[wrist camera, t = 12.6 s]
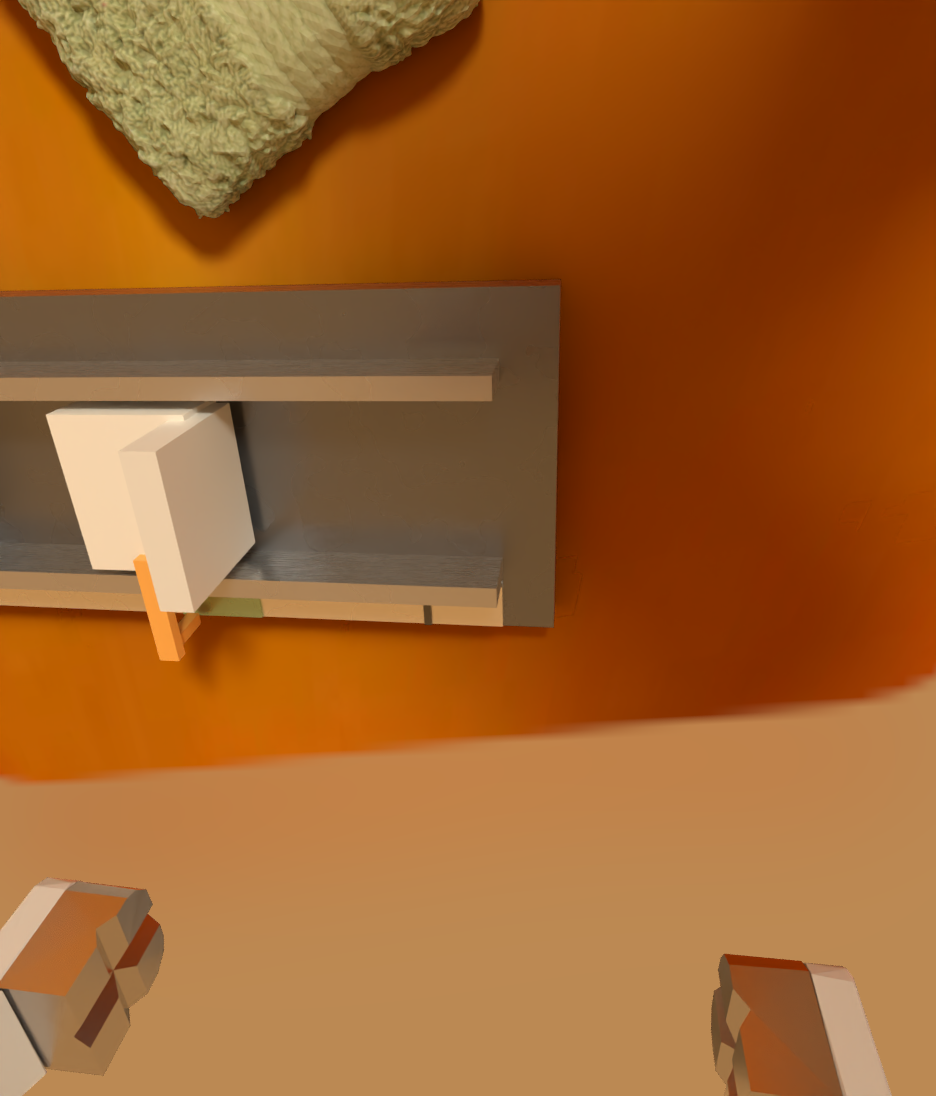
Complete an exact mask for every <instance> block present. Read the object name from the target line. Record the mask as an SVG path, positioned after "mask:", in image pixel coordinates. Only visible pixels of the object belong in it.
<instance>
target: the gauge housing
mask: <svg viewBox="0 0 936 1096" xmlns="http://www.w3.org/2000/svg"><path fill="white" fill-rule="evenodd" d="M560 313H561V279H549V280H502V281H456V282H410V283H363V284H317V285H271V286H224V287H178V288H132V289H85V290H39V291H0V605H8V606H31V607H54V608H78V609H101V610H125V611H146V607H145V603H144V600H143V596H142V592H141V589H140V585H139V582H138V578H137V574H136V571H130V570H101V569H93V568H92V565H91V562H90V558H89V555H88V552H87V549H86V545H85V542H84V539H83V536H82V532H81V529H80V526H79V522H78V519H77V516H76V513H75V509H74V506H73V503H72V500H71V496H70V493H69V490H68V486H67V483H66V480H65V477H64V473H63V470H62V467H61V464H60V460H59V457H58V454H57V450H56V447H55V444H54V441H53V437H52V434H51V431H50V427H49V424H48V421H47V418H46V414H48V413H51V412H53V411H55V410H57V409H59V408H62V407H64V406H66V405H68V404H70V403H72V402H75V401H216V403H229V405H230V410H231V415H232V421H233V426H234V431H235V437H236V442H237V447H238V453H239V458H240V463H241V469H242V474H243V479H244V485H245V490H246V495H247V500H248V506H249V511H250V516H251V522H252V527H253V532H254V538H255V544H254V545H253V546H252V547H251V548H250V549H249V550H248V552H247V553H246V554H245V555H244V556H243V557H242V558H241V560H240V561H239V562H238V563H237V564H236V565H235V566H234V568H233V569H232V570H231V571H230V572H229V573H228V575H227V576H226V577H225V578H224V579H223V580H222V581H221V583H220V584H219V585H218V586H217V587H216V588H215V589H214V591H213V592H212V593H211V594H210V595H209V596H208V598H207V599H206V600H205V601H204V602H203V603H202V604H201V606H200V607H199V608H198V609H197V610H196V611H195V612H194V613H199V615H211V616H234V617H257V618H263V616H265V617H288V618H312V619H335V620H359V621H382V622H405V623H424V624H425V625H432V624H452V625H475V626H499V627H503V625H506V626H529V627H553V628H554V614H555V573H556V521H557V469H558V417H559V365H560ZM175 613H183V614H187V612H175Z"/></svg>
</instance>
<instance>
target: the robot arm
mask: <svg viewBox="0 0 936 1096" xmlns="http://www.w3.org/2000/svg"><path fill="white" fill-rule="evenodd" d="M152 905H153V904H152V901H151V899H150V897H149V894H148V892H147V890H146V889H138V888H130V887H121V886H112V885H105V884H97V883H88V882H82V881H76V880H67V879H58V878H46V879H44V880H43V881H41V882H40V883H39V884H37V885H36V886H34V887H33V889H32V890H31V891H30V892H29V894H28V895H27V897H26V898H25V899H24V900H23V902H22V903H21V904H20V905H19V907H18V908H17V909H16V911H15V912H14V913H13V914H12V916H11V917H10V918H9V920H8V921H7V922H6V924H5V925H4V926H3V927H2V929H1V930H0V1096H22V1095H23V1094H24V1093H26V1092H27V1091H28V1090H29V1089H30V1088H31V1087H32V1086H33V1085H34V1084H35V1083H36V1082H37V1081H39V1080H40V1079H41V1078H42V1077H43V1076H44V1075H45V1074H46V1073H47V1071H46V1069H52V1070H61V1071H69V1072H78V1073H86V1074H94V1075H102V1076H103V1075H104V1074H105V1072H106V1070H107V1068H108V1066H109V1064H110V1063H111V1061H112V1059H113V1057H114V1055H115V1053H116V1051H117V1049H118V1047H119V1046H120V1044H121V1042H122V1040H123V1038H124V1037H125V1035H126V1033H127V1031H128V1029H129V1027H130V1015H129V1008H130V1007H131V1006H132V1005H133V1004H135V1003H136V1002H137V1001H139V1000H140V999H141V998H142V997H143V996H145V995H146V994H147V993H148V991H149V990H150V987H151V986H152V984H153V981H154V980H155V978H156V976H157V974H158V971H159V967H160V963H161V960H162V956H163V952H164V935H163V932H162V929H161V926H160V924H159V923H158V922H157V921H155V920H154V919H153V918H152V917H151V916H150V915H148V912H149V910H150V908H151V906H152ZM718 972H719V978H720V986H721V987H720V988H718V989H717V990H715V991H714V995H713V1002H712V1013H711V1033H712V1046H713V1055H714V1062H715V1070H716V1072H717V1073H718V1075H719V1076H720V1077H721V1079H722V1080H723V1081H724V1083H725V1084H726V1088H725V1093H724V1096H892V1095H891V1092H890V1089H889V1086H888V1083H887V1080H886V1077H885V1074H884V1070H883V1067H882V1064H881V1061H880V1058H879V1055H878V1052H877V1049H876V1046H875V1043H874V1040H873V1037H872V1033H871V1030H870V1027H869V1024H868V1021H867V1018H866V1015H865V1012H864V1009H863V1006H862V1003H861V1000H860V997H859V993H858V990H857V987H856V984H855V981H854V978H853V977H852V975H851V974H850V972H849V971H848V970H847V969H846V968H844V967H843V966H833V965H823V964H813V963H802V961H794V960H784V959H773V958H762V957H752V956H741V955H730V954H724V955H723V956H722V957H721V959H720V964H719V968H718Z"/></svg>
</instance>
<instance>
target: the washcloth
mask: <svg viewBox="0 0 936 1096" xmlns="http://www.w3.org/2000/svg"><path fill="white" fill-rule="evenodd" d="M479 1H480V0H18V2H19V3H20V5H21V6H22V7H23V8H24V9H25V10H27V11H29V14H30V17H31V18H32V19H33V20H34V21H36V22H37V24H36V25H37V27H38V28H39V29H44V30H45V31H46V32H48V33H49V34H50V36H51V40H52V42H53V43H54V44H55V45H56V46H57V49H58V52H59V56H60V58H61V61H62V63H64V64H66V67H67V69H68V71H69V73H70V74H71V76H72V78H73V79H74V80H75V81H76V82H78V83H79V84H80V85H81V86H83V87H84V88H87V89H88V92H87V93H86V98H87V99H89V101H90V102H91V103H92V104H93V105H94V106H95V107H96V108H97V109H98V110H100V111H103V112H104V113H105V114H106V115H107V116H108V117H109V118H110V119H111V120H112V121H113V126H114V127H115V129H116V130H118V131H120V132H122V133H123V134H124V135H125V137H126V139H127V140H128V142H129V143H130V144H131V146H132V147H133V148H134V150H135V151H137V152H138V158H139V159H140V160H141V161H142V162H143V163H145V164H147V165H149V166H150V167H151V168H152V171H153V175H154V176H158V178H159V179H161V180H162V182H163V184H164V185H165V186H167V187H168V188H169V190H170V191H171V192H172V194H173V195H174V196H175V197H176V198H177V199H178V201H179V202H180V203H181V204H184V205H185V206H191V207H192V208H194V209H195V211H196V213H197V215H198V216H199V219H201V218H202V217H203V216H204V215H205V216H207V217H211V218H217V217H220V215H222V214H223V213H224V211H225V212H229V211H230V210H229V204H231V203H234V202H236V201H238V200H239V199H240V194H242V193H244V192H246V191H247V190H248V189H249V188H251V186H252V184H253V180H254V179H259V178H262V177H264V176H265V173H266V170H271V169H272V168H273V167H275V166H276V161H277V160H278V159H280V158H281V157H282V156H283V155H284V154H286V153H287V152H291V151H293V150H295V149H297V148H299V147H301V146H302V141H304V140H305V139H307V138H308V139H312V129H313V126H314V122H315V121H316V119H317V118H318V117H319V116H320V115H321V114H322V113H323V112H325V111H327V110H328V109H329V108H331V107H332V106H333V105H335V104H336V103H337V102H338V101H339V99H341V98H342V97H344V96H345V95H346V94H347V93H349V92H350V91H351V90H352V89H353V88H354V86H355V85H356V83H357V82H359V81H360V80H362V79H363V78H365V77H366V76H367V75H368V74H369V73H370V72H372V71H377V72H380V71H382V70H384V69H386V68H388V67H389V66H391V65H396V64H398V63H399V61H403V60H404V59H405V57H408V56H410V55H411V48H412V47H415V48H417V47H422V46H424V45H426V44H427V43H428V42H429V40H430V38H431V37H434V36H439V35H442V34H444V33H445V32H446V31H448V30H451V29H453V28H454V27H455V26H456V25H457V24H458V23H459V22H460V21H461V20H462V19H465V18H468V17H469V16H470V15H471V13H472V11H473V9H474V8H475V7H477V6H478V2H479Z"/></svg>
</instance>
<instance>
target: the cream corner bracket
mask: <svg viewBox="0 0 936 1096" xmlns="http://www.w3.org/2000/svg"><path fill="white" fill-rule="evenodd" d="M46 418H47V421H48V424H49V427H50V431H51V434H52V437H53V441H54V444H55V447H56V450H57V454H58V457H59V460H60V464H61V467H62V470H63V473H64V477H65V480H66V483H67V486H68V490H69V493H70V496H71V500H72V503H73V506H74V509H75V513H76V516H77V519H78V522H79V526H80V529H81V532H82V536H83V539H84V542H85V545H86V549H87V552H88V555H89V558H90V562H91V565H92V568H93V569H101V570H130V571H136V574H137V578H138V582H139V585H140V589H141V592H142V596H143V600H144V603H145V607H146V611H147V614H148V618H149V621H150V625H151V629H152V632H153V636H154V640H155V643H156V647H157V651H158V654H159V658H160V660H167V661H180V660H181V658H182V657H183V656H184V655H185V650H184V646H183V645H184V643H185V642H186V641H187V640H188V639H189V637H190V636H191V635H192V634H193V633H194V631H195V630H196V629H197V628H198V627H199V625H200V624H201V620H200V616H199V613H194V612H195V611H196V610H197V609H198V608H199V607H200V606H201V604H202V603H203V602H204V601H205V600H206V599H207V598H208V596H209V595H210V594H211V593H212V592H213V591H214V589H215V588H216V587H217V586H218V585H219V584H220V583H221V581H222V580H223V579H224V578H225V577H226V576H227V575H228V573H229V572H230V571H231V570H232V569H233V568H234V566H235V565H236V564H237V563H238V562H239V561H240V560H241V558H242V557H243V556H244V555H245V554H246V553H247V552H248V550H249V549H250V548H251V547H252V546H253V545H254V544H255V538H254V532H253V527H252V522H251V516H250V511H249V506H248V500H247V495H246V490H245V485H244V479H243V474H242V469H241V463H240V458H239V453H238V447H237V442H236V437H235V431H234V426H233V421H232V415H231V410H230V405H229V403H216V401H75V402H72V403H70V404H68V405H66V406H64V407H62V408H59V409H57V410H55V411H53V412H51V413H48V414H46ZM175 612H187V614H186V615H185V616H184V617H183V618H182V619H181V621H180V622H179V623H177V619H176V615H175Z"/></svg>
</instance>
